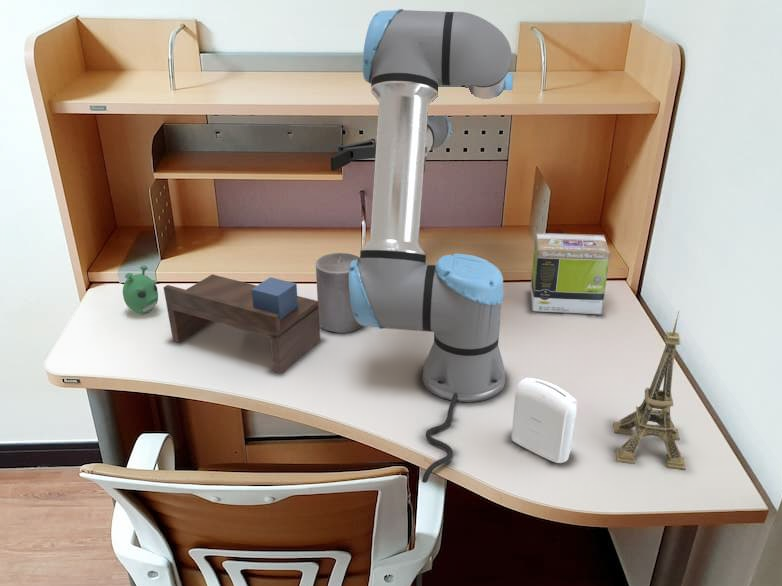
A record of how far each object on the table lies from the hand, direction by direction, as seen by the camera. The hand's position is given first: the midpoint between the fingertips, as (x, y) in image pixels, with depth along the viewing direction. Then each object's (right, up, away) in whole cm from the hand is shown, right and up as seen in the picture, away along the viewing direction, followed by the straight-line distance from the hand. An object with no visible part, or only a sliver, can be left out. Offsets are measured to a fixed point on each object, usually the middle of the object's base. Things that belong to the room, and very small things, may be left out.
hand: (361, 169), depth 151 cm
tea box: (+44, -25, +17) cm, 53 cm away
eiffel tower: (+49, -53, -26) cm, 76 cm away
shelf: (-23, -34, +2) cm, 41 cm away
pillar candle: (-5, -30, +9) cm, 32 cm away
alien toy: (-47, -28, +12) cm, 56 cm away
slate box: (-16, -28, -6) cm, 33 cm away
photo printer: (+31, -53, -27) cm, 67 cm away
